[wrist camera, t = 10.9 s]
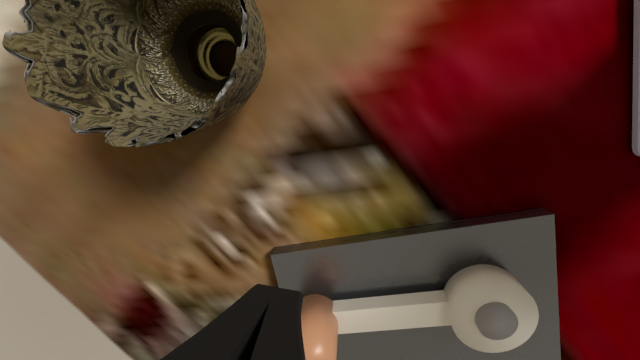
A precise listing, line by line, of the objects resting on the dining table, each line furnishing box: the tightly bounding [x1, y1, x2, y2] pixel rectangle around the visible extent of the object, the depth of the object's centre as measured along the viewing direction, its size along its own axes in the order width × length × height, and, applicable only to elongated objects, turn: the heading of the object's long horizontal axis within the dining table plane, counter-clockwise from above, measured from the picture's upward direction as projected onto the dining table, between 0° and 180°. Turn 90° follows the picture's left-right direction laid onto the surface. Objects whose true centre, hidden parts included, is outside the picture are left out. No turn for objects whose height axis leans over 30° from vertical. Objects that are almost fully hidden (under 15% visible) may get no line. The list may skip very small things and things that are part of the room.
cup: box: [2, 0, 266, 148], centre depth 12 cm, size 8×7×8 cm
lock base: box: [270, 208, 561, 360], centre depth 18 cm, size 16×16×1 cm
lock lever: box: [301, 264, 539, 360], centre depth 15 cm, size 4×12×4 cm, turn 100°
